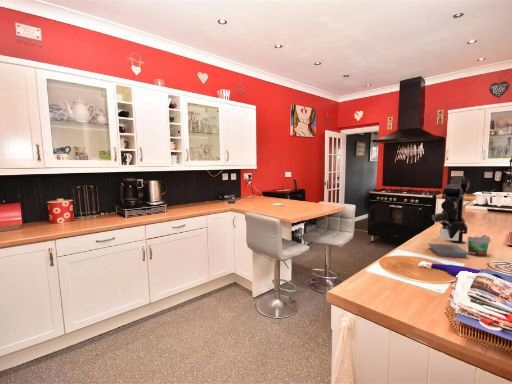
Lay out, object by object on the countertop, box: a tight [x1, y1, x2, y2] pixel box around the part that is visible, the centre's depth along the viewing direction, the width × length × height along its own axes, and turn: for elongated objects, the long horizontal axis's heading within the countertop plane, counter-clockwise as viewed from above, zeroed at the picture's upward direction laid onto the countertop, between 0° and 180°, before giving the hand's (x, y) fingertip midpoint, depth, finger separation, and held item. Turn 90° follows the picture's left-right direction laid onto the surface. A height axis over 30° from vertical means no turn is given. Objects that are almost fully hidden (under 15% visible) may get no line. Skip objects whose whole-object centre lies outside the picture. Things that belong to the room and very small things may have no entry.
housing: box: [438, 226, 459, 241], centre depth 140 cm, size 5×7×7 cm
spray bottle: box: [417, 260, 481, 277], centre depth 116 cm, size 3×11×24 cm
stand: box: [428, 242, 471, 259], centre depth 141 cm, size 14×14×3 cm
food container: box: [467, 234, 492, 257], centre depth 138 cm, size 12×6×10 cm, turn 105°
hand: (448, 236), depth 140 cm, fingers closed on housing, 5 cm apart
